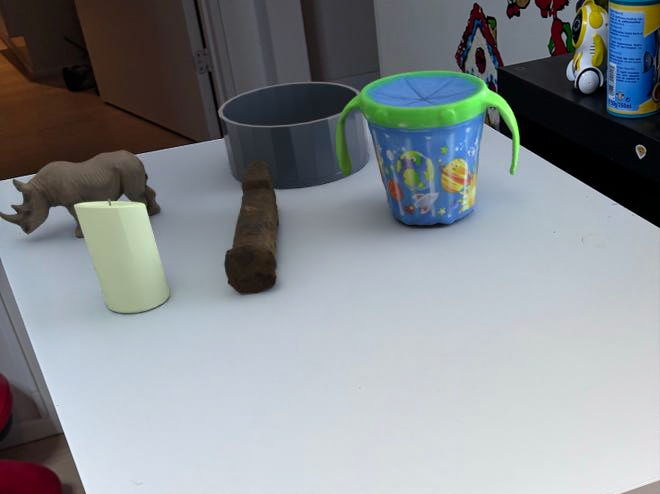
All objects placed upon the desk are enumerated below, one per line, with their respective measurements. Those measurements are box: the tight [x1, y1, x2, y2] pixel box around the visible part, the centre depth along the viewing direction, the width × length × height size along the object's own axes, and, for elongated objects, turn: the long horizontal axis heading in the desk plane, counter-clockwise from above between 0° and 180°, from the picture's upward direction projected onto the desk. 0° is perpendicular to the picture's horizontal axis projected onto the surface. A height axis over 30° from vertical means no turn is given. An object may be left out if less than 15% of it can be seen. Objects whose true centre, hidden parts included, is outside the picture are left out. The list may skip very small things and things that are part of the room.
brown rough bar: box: [223, 160, 280, 295], centre depth 86 cm, size 19×4×5 cm, turn 3°
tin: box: [217, 81, 370, 190], centre depth 100 cm, size 14×14×6 cm
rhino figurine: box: [0, 149, 162, 238], centre depth 90 cm, size 4×14×6 cm, turn 114°
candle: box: [74, 199, 171, 314], centre depth 78 cm, size 5×5×8 cm
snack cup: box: [336, 70, 520, 226], centre depth 87 cm, size 16×10×10 cm
